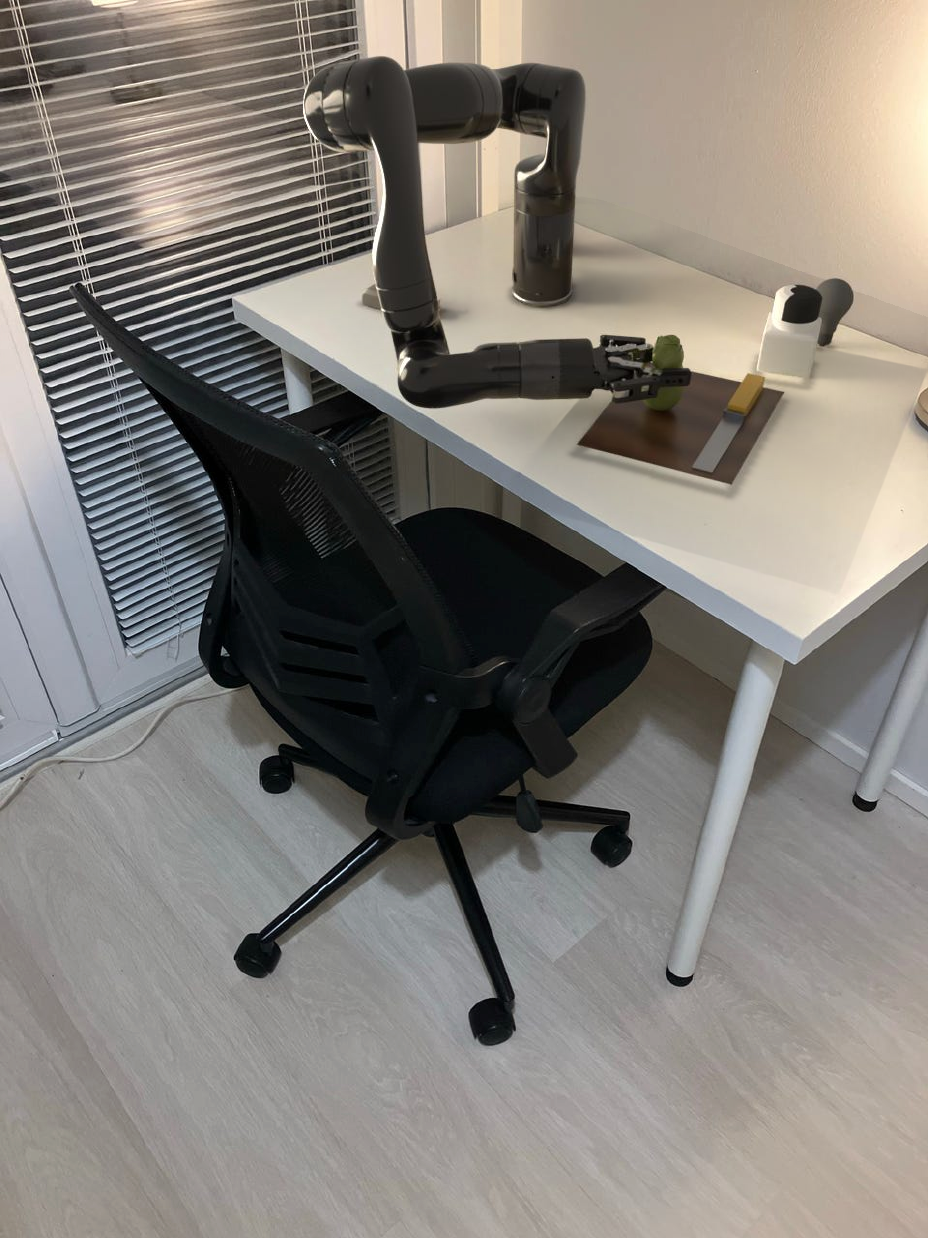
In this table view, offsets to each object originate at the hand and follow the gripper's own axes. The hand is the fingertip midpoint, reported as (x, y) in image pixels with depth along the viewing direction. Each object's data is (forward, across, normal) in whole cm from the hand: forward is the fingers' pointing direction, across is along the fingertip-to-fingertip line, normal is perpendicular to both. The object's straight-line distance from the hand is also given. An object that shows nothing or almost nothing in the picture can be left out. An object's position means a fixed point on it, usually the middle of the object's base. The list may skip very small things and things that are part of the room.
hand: (685, 365), depth 135 cm
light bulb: (+25, +18, +7) cm, 31 cm away
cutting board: (0, -2, +8) cm, 8 cm away
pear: (-3, 0, +6) cm, 7 cm away
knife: (+5, -6, +6) cm, 10 cm away
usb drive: (-37, +36, +8) cm, 52 cm away
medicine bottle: (+17, +11, +8) cm, 22 cm away
